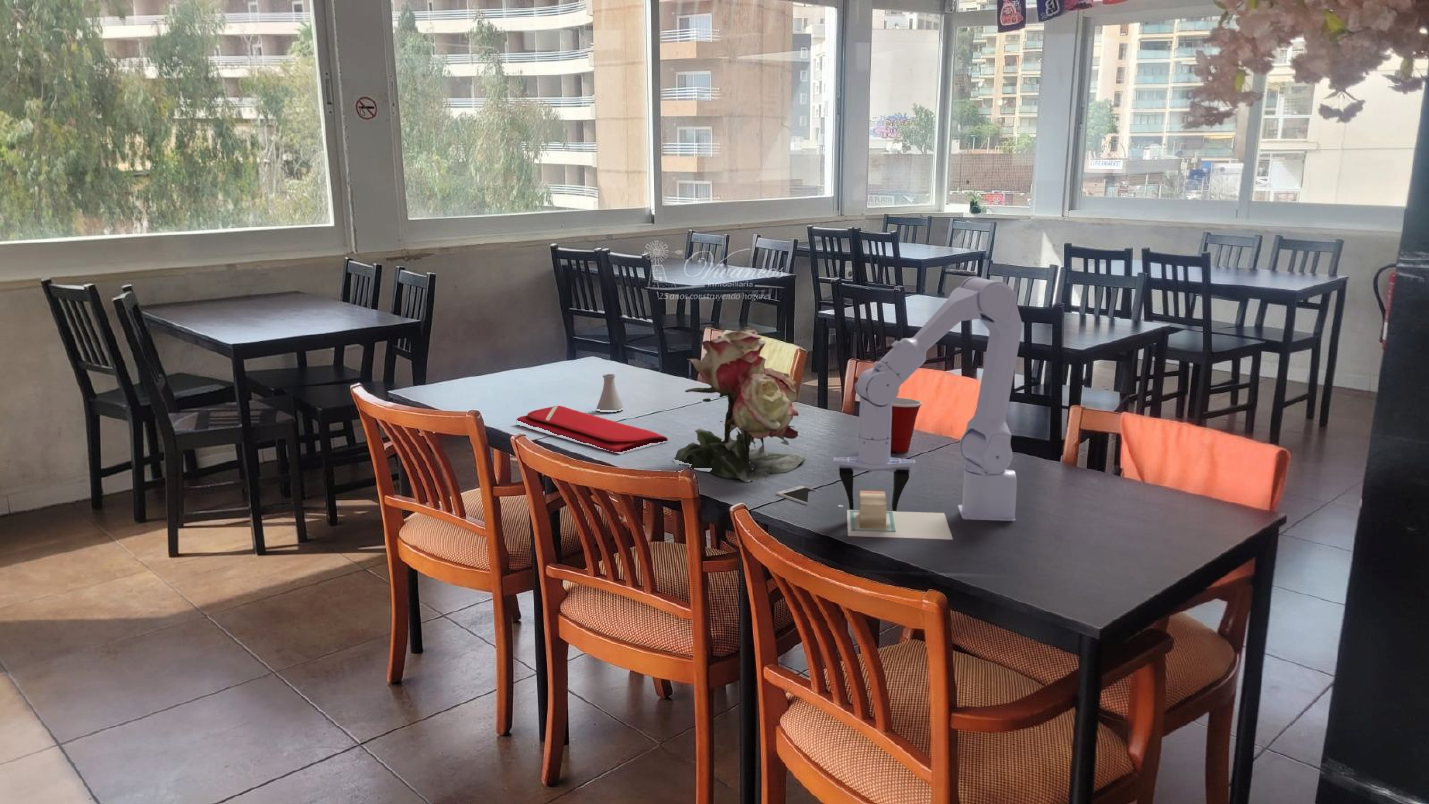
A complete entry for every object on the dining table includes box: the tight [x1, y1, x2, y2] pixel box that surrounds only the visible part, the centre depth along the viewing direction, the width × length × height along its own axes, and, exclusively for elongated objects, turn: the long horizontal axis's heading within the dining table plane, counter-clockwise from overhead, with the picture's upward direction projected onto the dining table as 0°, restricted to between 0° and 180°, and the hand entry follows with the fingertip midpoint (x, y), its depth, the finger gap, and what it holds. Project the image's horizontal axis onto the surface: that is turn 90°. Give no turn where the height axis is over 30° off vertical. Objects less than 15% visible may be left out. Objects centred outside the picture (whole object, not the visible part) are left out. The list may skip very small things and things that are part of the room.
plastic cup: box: [891, 397, 923, 454], centre depth 231 cm, size 11×11×12 cm
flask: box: [596, 373, 624, 410], centre depth 272 cm, size 7×7×10 cm
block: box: [858, 490, 888, 529], centre depth 182 cm, size 8×5×4 cm, turn 173°
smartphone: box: [775, 485, 844, 508], centre depth 196 cm, size 7×16×1 cm, turn 39°
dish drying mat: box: [516, 405, 669, 452], centre depth 248 cm, size 16×41×4 cm, turn 46°
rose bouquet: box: [673, 326, 806, 483], centre depth 219 cm, size 26×29×30 cm
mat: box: [846, 509, 954, 541], centre depth 181 cm, size 18×14×1 cm
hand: (872, 508), depth 182 cm, fingers open, 7 cm apart
